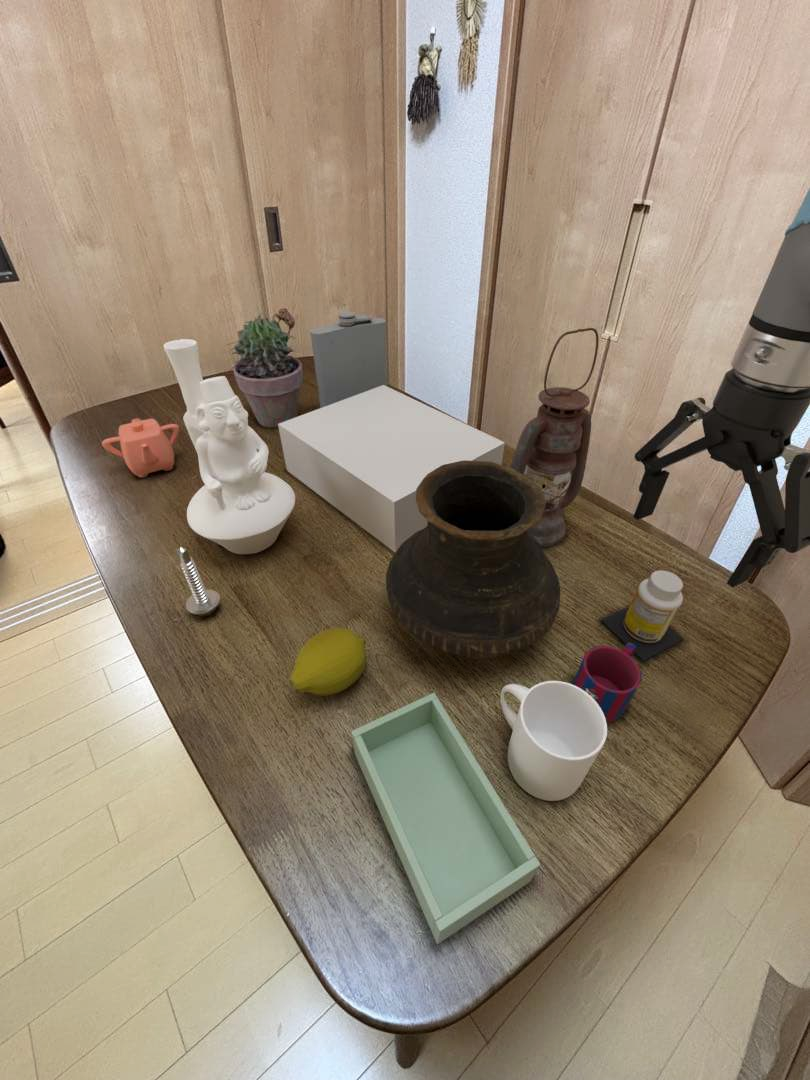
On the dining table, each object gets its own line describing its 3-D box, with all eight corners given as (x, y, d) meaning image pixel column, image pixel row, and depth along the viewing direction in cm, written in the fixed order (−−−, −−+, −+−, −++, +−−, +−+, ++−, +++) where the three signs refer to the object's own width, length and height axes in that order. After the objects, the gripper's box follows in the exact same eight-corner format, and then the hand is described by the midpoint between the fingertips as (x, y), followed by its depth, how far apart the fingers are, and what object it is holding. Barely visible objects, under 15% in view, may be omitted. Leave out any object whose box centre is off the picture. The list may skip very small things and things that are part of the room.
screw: (223, 619, 72) (189, 625, 71) (223, 595, 76) (190, 602, 75) (198, 555, 64) (159, 562, 63) (199, 533, 67) (163, 539, 66)
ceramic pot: (366, 581, 78) (357, 462, 63) (499, 545, 84) (518, 430, 70) (424, 712, 61) (430, 591, 46) (585, 654, 67) (636, 532, 52)
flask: (382, 407, 125) (378, 304, 108) (390, 415, 121) (387, 309, 105) (319, 423, 118) (304, 316, 102) (326, 431, 115) (312, 322, 99)
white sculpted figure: (213, 586, 77) (140, 398, 56) (184, 515, 91) (117, 342, 70) (316, 548, 84) (286, 367, 63) (274, 487, 98) (238, 322, 77)
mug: (520, 696, 62) (535, 646, 55) (597, 772, 55) (625, 726, 48) (471, 733, 59) (480, 685, 52) (546, 821, 51) (568, 778, 44)
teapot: (106, 473, 102) (85, 430, 95) (147, 446, 110) (131, 405, 103) (160, 487, 98) (142, 443, 91) (198, 458, 106) (185, 416, 100)
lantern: (589, 533, 87) (656, 332, 64) (514, 559, 82) (556, 351, 59) (551, 500, 94) (598, 310, 71) (480, 522, 89) (506, 325, 66)
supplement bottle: (645, 610, 73) (670, 562, 66) (671, 639, 69) (700, 590, 62) (613, 619, 71) (635, 570, 65) (638, 649, 67) (663, 600, 61)
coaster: (683, 640, 69) (684, 639, 69) (642, 662, 66) (643, 660, 66) (639, 603, 74) (640, 601, 74) (600, 621, 72) (601, 619, 71)
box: (384, 428, 116) (383, 384, 109) (497, 490, 97) (504, 442, 90) (286, 470, 103) (277, 423, 95) (395, 552, 83) (394, 502, 76)
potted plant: (219, 422, 119) (189, 315, 102) (282, 396, 130) (264, 296, 113) (265, 447, 110) (240, 334, 93) (328, 416, 121) (316, 310, 104)
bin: (530, 881, 47) (540, 864, 44) (437, 944, 44) (440, 931, 40) (432, 715, 60) (434, 692, 57) (354, 753, 57) (351, 731, 53)
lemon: (355, 641, 69) (351, 604, 64) (382, 681, 64) (380, 645, 59) (284, 675, 65) (273, 639, 60) (306, 722, 60) (297, 687, 55)
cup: (559, 694, 63) (571, 664, 58) (605, 655, 67) (619, 624, 63) (603, 733, 59) (620, 704, 54) (649, 688, 63) (667, 658, 59)
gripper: (639, 342, 52) (590, 500, 66) (904, 445, 35) (764, 628, 49) (687, 332, 55) (630, 486, 69) (955, 423, 38) (808, 603, 52)
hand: (686, 546), depth 59 cm, fingers open, 13 cm apart
